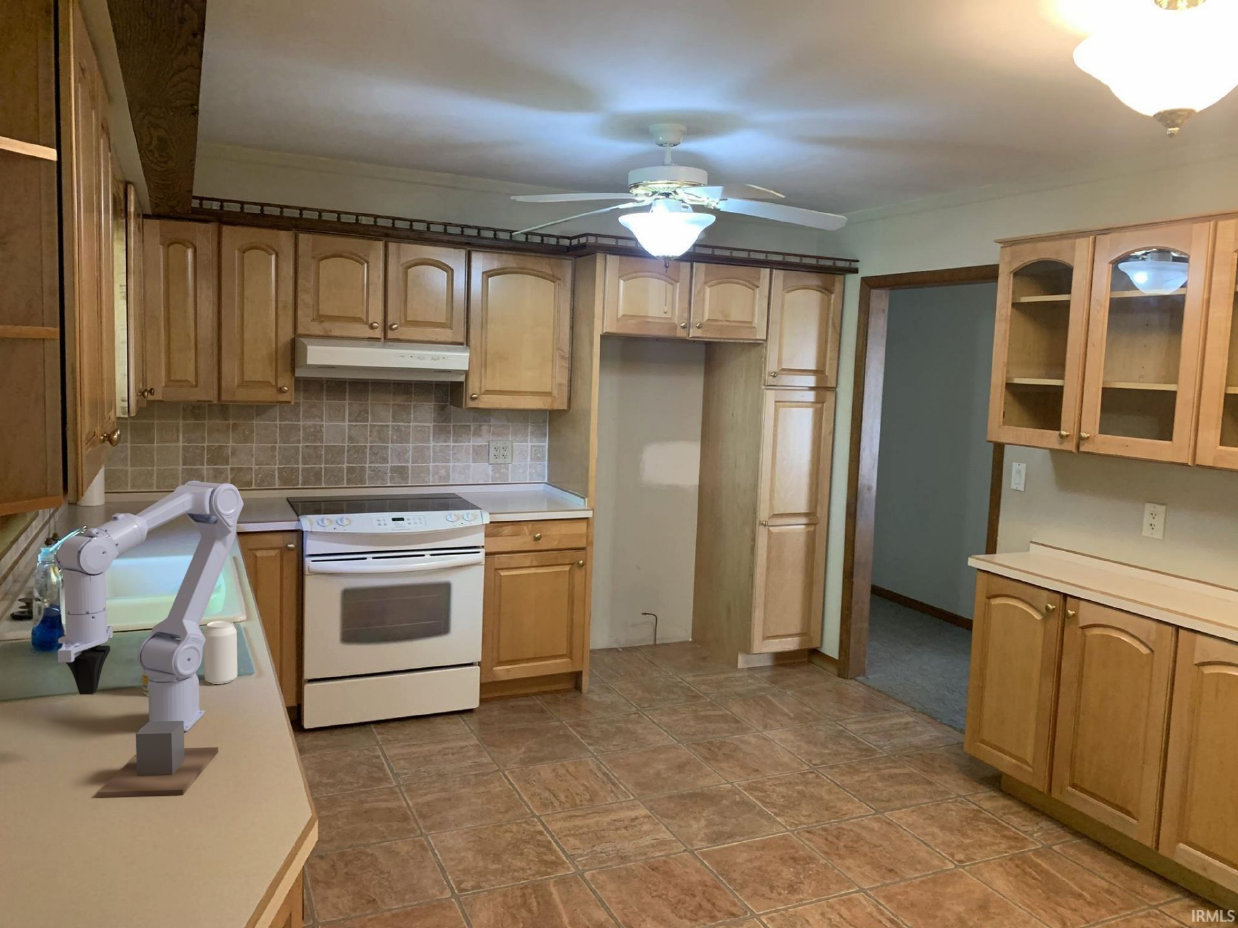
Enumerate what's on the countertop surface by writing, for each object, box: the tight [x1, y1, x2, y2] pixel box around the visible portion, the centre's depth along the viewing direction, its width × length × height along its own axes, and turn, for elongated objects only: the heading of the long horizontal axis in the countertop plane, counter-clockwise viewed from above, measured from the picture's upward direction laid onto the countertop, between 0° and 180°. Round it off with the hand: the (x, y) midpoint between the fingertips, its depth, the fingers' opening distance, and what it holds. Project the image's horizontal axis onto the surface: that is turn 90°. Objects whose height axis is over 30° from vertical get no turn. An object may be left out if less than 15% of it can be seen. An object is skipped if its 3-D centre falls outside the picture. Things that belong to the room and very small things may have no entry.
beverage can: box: [203, 620, 238, 683], centre depth 187 cm, size 6×6×12 cm
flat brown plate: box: [97, 746, 219, 798], centre depth 143 cm, size 16×12×6 cm
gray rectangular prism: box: [135, 721, 185, 776], centre depth 143 cm, size 5×5×7 cm
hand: (88, 693), depth 149 cm, fingers closed
